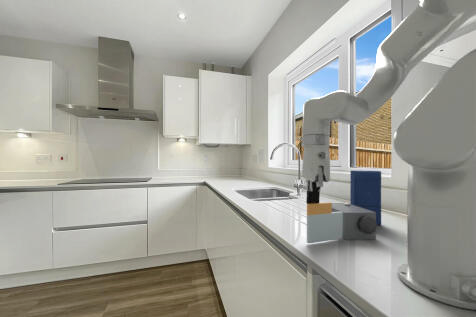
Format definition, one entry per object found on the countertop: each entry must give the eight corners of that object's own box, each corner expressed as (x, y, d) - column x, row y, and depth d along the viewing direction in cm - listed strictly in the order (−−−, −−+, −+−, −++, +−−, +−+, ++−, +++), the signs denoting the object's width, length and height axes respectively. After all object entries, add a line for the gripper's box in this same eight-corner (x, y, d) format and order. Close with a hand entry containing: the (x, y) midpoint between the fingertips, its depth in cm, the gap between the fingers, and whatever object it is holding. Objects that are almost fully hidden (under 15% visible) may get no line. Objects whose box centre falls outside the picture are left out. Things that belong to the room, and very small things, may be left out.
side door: (340, 237, 60) (340, 201, 61) (342, 238, 60) (342, 202, 60) (306, 242, 57) (306, 203, 57) (308, 243, 56) (308, 204, 56)
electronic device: (374, 221, 79) (374, 170, 79) (382, 225, 74) (382, 171, 74) (349, 220, 80) (349, 170, 80) (355, 224, 75) (355, 170, 75)
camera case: (380, 240, 60) (380, 211, 60) (348, 241, 59) (348, 212, 59) (346, 224, 75) (347, 201, 75) (321, 224, 74) (321, 201, 74)
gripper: (341, 140, 51) (337, 212, 52) (318, 144, 66) (315, 199, 67) (311, 139, 51) (308, 211, 52) (295, 143, 66) (293, 198, 67)
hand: (312, 204), depth 59 cm, fingers closed
